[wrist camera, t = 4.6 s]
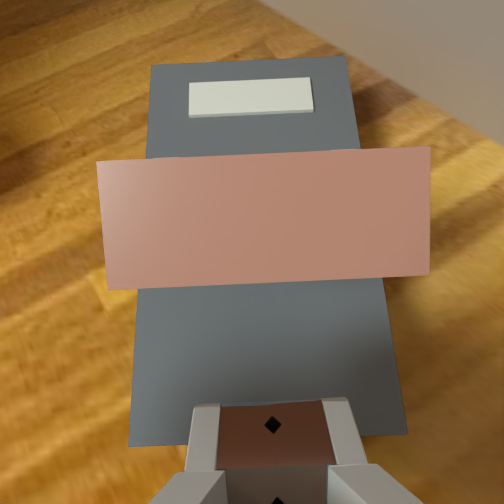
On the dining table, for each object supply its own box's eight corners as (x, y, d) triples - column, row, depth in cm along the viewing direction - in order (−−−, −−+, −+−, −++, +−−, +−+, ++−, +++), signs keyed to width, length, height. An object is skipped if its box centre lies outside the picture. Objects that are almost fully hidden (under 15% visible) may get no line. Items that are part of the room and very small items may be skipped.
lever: (192, 233, 19) (108, 289, 8) (189, 181, 19) (95, 161, 7) (321, 227, 19) (429, 275, 8) (320, 175, 19) (430, 145, 7)
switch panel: (158, 444, 20) (105, 449, 13) (169, 127, 27) (139, 22, 20) (374, 434, 20) (433, 434, 13) (331, 120, 27) (354, 12, 20)
